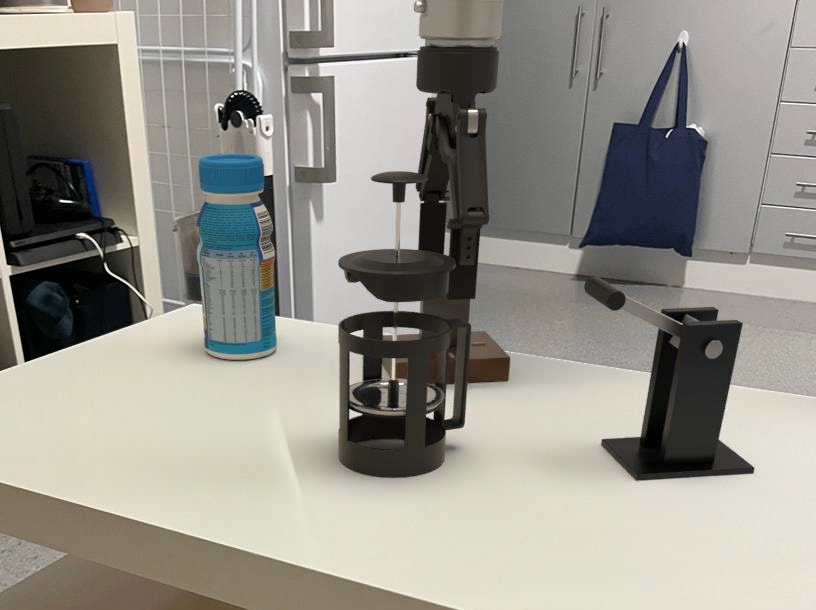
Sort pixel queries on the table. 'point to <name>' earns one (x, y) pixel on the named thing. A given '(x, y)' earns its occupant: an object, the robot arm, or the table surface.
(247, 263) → the beverage bottle
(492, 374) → the brown box
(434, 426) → the french press
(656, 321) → the lever
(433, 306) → the dark gray upright plate
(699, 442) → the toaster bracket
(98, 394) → the table surface
